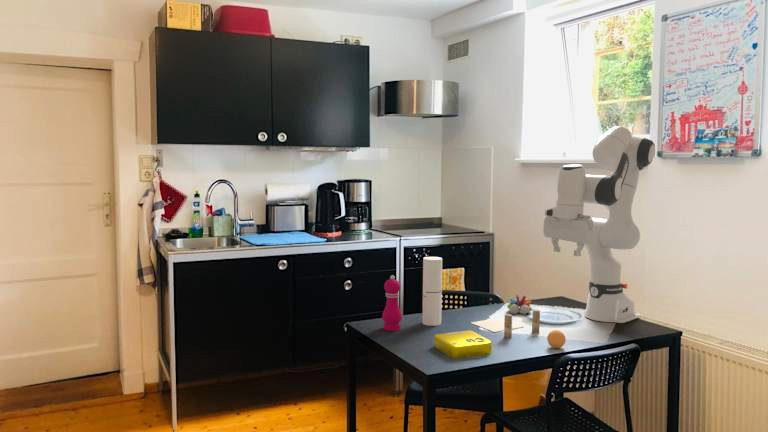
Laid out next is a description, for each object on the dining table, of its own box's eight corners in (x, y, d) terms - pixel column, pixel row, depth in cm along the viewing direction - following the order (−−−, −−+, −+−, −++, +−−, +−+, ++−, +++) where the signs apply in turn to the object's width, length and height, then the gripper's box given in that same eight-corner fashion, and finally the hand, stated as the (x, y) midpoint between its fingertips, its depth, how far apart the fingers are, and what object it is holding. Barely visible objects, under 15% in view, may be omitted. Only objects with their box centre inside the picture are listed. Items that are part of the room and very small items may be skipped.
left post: (508, 335, 238) (508, 313, 237) (513, 337, 236) (513, 315, 235) (502, 336, 237) (503, 314, 236) (507, 338, 235) (507, 316, 234)
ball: (556, 344, 229) (556, 327, 228) (569, 348, 224) (569, 331, 223) (543, 346, 226) (543, 329, 225) (555, 351, 221) (556, 334, 220)
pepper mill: (389, 332, 241) (390, 278, 239) (378, 327, 247) (378, 274, 245) (405, 329, 245) (406, 275, 243) (393, 324, 251) (394, 272, 249)
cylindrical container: (435, 326, 249) (436, 260, 246) (418, 323, 253) (419, 258, 250) (444, 322, 255) (445, 257, 252) (427, 319, 259) (428, 255, 256)
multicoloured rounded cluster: (531, 316, 265) (532, 298, 264) (506, 314, 267) (507, 296, 266) (531, 310, 274) (531, 293, 273) (507, 309, 276) (507, 292, 275)
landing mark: (499, 318, 261) (499, 317, 261) (523, 327, 249) (523, 326, 249) (470, 323, 254) (470, 322, 254) (494, 332, 242) (494, 331, 242)
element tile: (470, 341, 233) (471, 328, 232) (493, 354, 219) (494, 340, 218) (432, 346, 227) (432, 332, 226) (453, 360, 213) (453, 345, 213)
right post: (535, 330, 245) (536, 309, 244) (540, 332, 242) (541, 311, 241) (530, 331, 243) (531, 310, 242) (535, 333, 241) (536, 311, 240)
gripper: (600, 216, 216) (597, 258, 218) (555, 210, 234) (552, 249, 235) (585, 216, 213) (583, 259, 214) (541, 210, 231) (539, 249, 232)
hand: (566, 253), depth 225 cm, fingers open, 8 cm apart
